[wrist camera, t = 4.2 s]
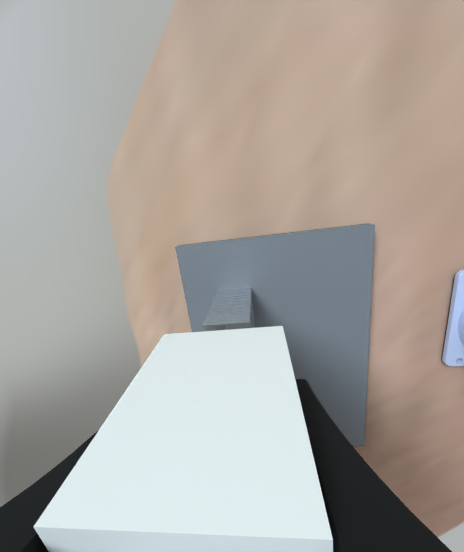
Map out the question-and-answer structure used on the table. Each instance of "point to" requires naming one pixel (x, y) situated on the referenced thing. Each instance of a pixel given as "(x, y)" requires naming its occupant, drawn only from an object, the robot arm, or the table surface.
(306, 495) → the pale white cuboid
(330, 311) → the board
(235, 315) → the post
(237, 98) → the table surface
